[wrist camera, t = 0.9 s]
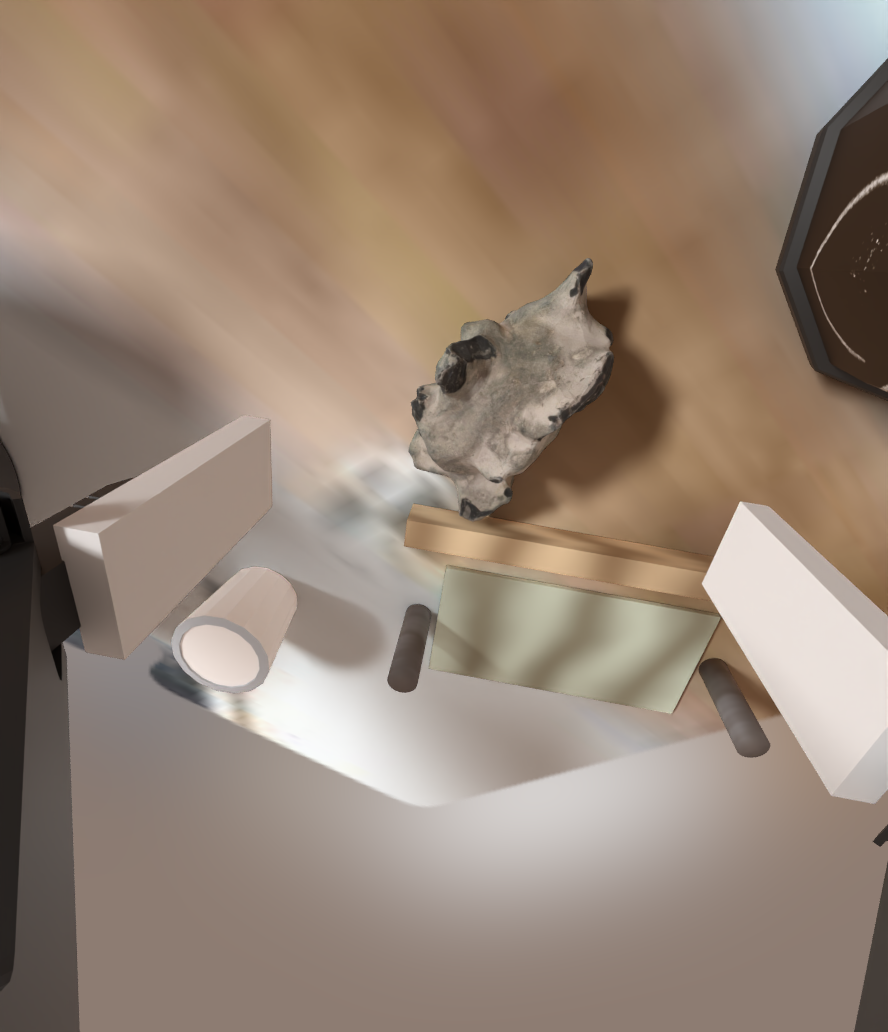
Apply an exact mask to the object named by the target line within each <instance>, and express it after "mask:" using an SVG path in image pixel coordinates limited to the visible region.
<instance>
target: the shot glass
mask: <svg viewBox="0 0 888 1032" xmlns="http://www.w3.org/2000/svg"><path fill="white" fill-rule="evenodd" d="M296 609H297V595H296V593H295V591H294V589H293V587H292V585H291V584H290V583H289V582H288V581H287V580H286V579H285V578H284V577H283V576H282V575H281V574H279V573H277V572H275V571H273V570H271V569H269V568H263V567H256V566H253V567H248V568H244V569H241V570H240V571H239V572H237V573H236V574H235V575H234V576H232V577H231V578H230V579H229V580H228V581H227V582H226V583H225V584H224V585H222V586H221V587H220V588H219V589H218V590H217V591H216V592H215V593H214V594H212V595H211V596H210V597H209V598H208V599H207V600H206V601H205V602H204V603H203V604H201V605H200V606H199V607H198V608H197V609H196V610H195V611H194V612H193V613H191V614H190V615H189V616H188V617H187V618H186V619H185V620H184V621H183V622H182V623H180V624H179V625H178V626H177V627H176V628H175V631H174V634H173V636H172V639H171V645H172V650H173V655H174V657H175V659H176V660H177V662H178V663H179V665H180V666H181V668H182V669H183V671H185V672H186V673H187V674H188V675H190V676H191V677H192V678H193V679H195V680H196V681H197V682H198V683H200V684H203V685H205V686H207V687H209V688H212V689H214V690H216V691H222V692H229V693H241V692H247V691H251V690H253V689H255V688H256V687H258V686H259V685H261V684H263V682H264V680H265V678H266V676H267V674H268V672H269V670H270V668H271V666H272V664H273V661H274V659H275V657H276V654H277V652H278V650H279V648H280V645H281V643H282V641H283V638H284V636H285V634H286V632H287V629H288V627H289V625H290V622H291V620H292V618H293V616H294V613H295V611H296Z"/></svg>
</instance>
